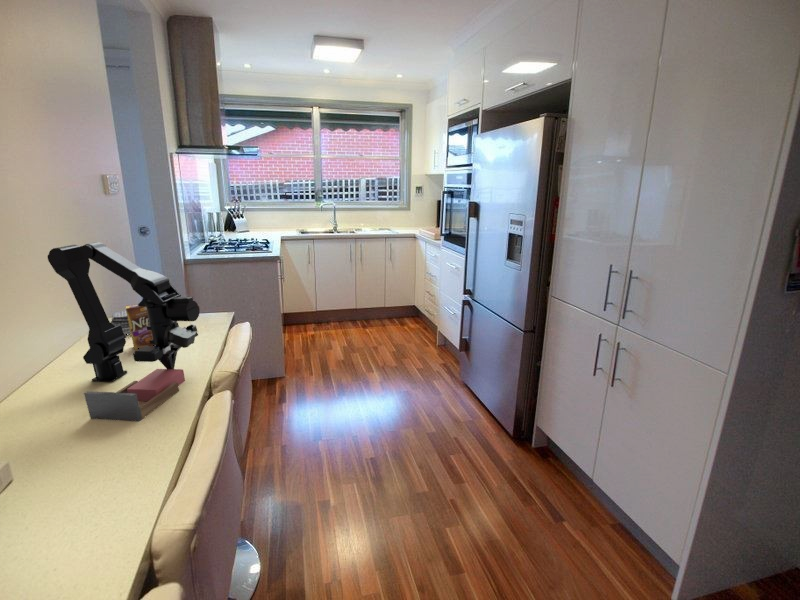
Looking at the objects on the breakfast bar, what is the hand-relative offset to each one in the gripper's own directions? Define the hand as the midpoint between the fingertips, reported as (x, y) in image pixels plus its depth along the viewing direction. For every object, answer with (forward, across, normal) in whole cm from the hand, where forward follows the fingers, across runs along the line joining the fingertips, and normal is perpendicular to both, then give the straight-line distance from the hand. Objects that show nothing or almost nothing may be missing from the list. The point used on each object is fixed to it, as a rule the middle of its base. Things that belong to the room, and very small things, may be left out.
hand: (171, 370), depth 119 cm
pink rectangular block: (+3, -7, 0) cm, 8 cm away
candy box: (+3, +24, +26) cm, 35 cm away
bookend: (+2, -21, 0) cm, 21 cm away
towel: (+3, +42, +44) cm, 60 cm away
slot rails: (+2, -14, 0) cm, 14 cm away
